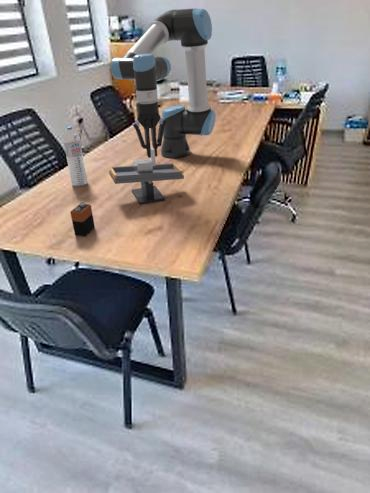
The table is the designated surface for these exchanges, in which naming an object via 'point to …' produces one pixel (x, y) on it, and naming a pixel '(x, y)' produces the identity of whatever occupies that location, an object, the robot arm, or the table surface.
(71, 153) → the water bottle
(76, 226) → the battery
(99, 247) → the table surface
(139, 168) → the rider
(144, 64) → the robot arm
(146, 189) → the stand
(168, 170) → the beam
